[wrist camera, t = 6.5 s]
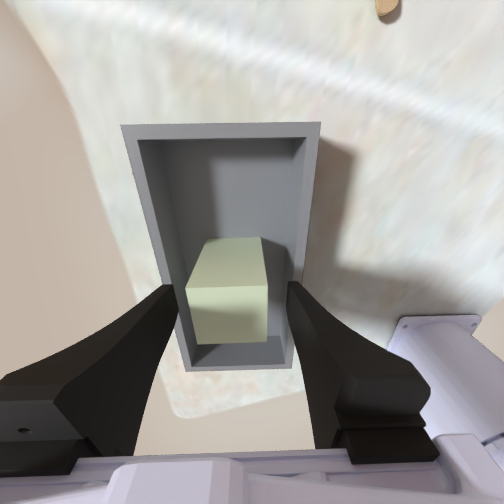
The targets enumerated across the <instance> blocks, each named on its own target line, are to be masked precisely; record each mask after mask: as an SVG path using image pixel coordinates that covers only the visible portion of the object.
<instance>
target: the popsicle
mask: <svg viewBox="0 0 504 504" xmlns="http://www.w3.org/2000/svg"><path fill="white" fill-rule="evenodd" d="M398 1H399V0H375V3H376V12H377V14H378V15H379V16H384V15H386V14H388V13H390V12H391V11H392V10H393V9H394V8H395V7H396V6H397V4H398Z"/></svg>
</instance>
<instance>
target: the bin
mask: <svg viewBox="0 0 504 504" xmlns="http://www.w3.org/2000/svg"><path fill="white" fill-rule="evenodd" d="M120 126H121V130H122V134H123V138H124V141H125V145H126V149H127V153H128V156H129V160H130V164H131V168H132V171H133V175H134V179H135V183H136V186H137V190H138V194H139V198H140V201H141V205H142V209H143V213H144V216H145V220H146V224H147V228H148V232H149V235H150V239H151V243H152V247H153V250H154V254H155V258H156V262H157V265H158V269H159V273H160V277H161V280H162V284H173V286H174V290H175V295H176V299H177V303H178V307H179V312H178V316H177V320H176V323H175V326H174V329H175V333H176V337H177V340H178V344H179V348H180V352H181V355H182V359H183V363H184V367H185V370H186V372H194V371H226V370H258V369H291V368H292V361H293V353H294V344H295V343H294V340H293V336H292V333H291V330H290V326H289V323H288V317H287V312H286V298H287V285H288V281H298V282H299V283H300V284H301V285H302V277H303V269H304V261H305V252H306V244H307V236H308V227H309V219H310V211H311V202H312V194H313V186H314V177H315V169H316V161H317V152H318V144H319V136H320V127H321V122H272V123H206V124H139V125H120ZM248 237H260V238H261V244H262V251H263V257H264V264H265V271H266V277H267V284H268V303H267V342H251V343H223V344H197V340H196V336H195V331H194V327H193V322H192V317H191V313H190V308H189V304H188V299H187V294H186V290H185V288H186V285H187V283H188V281H189V278H190V276H191V274H192V272H193V269H194V267H195V265H196V263H197V260H198V258H199V256H200V253H201V251H202V249H203V247H204V244H205V242H206V240H207V239H216V238H248Z"/></svg>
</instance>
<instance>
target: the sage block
mask: <svg viewBox="0 0 504 504" xmlns="http://www.w3.org/2000/svg"><path fill="white" fill-rule="evenodd" d="M185 290H186V294H187V299H188V304H189V308H190V313H191V317H192V322H193V327H194V331H195V336H196V340H197V344H223V343H251V342H267V303H268V284H267V277H266V271H265V264H264V257H263V251H262V244H261V238H260V237H248V238H216V239H207V240H206V242H205V244H204V247H203V249H202V251H201V253H200V256H199V258H198V260H197V263H196V265H195V267H194V269H193V272H192V274H191V276H190V278H189V281H188V283H187V285H186V288H185Z"/></svg>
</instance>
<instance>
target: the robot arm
mask: <svg viewBox="0 0 504 504" xmlns="http://www.w3.org/2000/svg"><path fill="white" fill-rule="evenodd" d="M178 312H179V307H178V303H177V299H176V295H175V290H174V286H173V284H163V285H161V286H160V287H159V288H157V289H156V290H155V291H154V292H152V293H151V294H150V295H149V296H147V297H146V298H145V299H144V300H142V301H141V302H140V303H138V304H137V305H136V306H135V307H133V308H132V309H130V310H129V311H128V312H126V313H125V314H124V315H122V316H121V317H119V318H118V319H116V320H115V321H114V322H112V323H110V324H109V325H107V326H106V327H104V328H102V329H101V330H99V331H97V332H96V333H94V334H92V335H90V336H89V337H87V338H85V339H83V340H81V341H80V342H78V343H76V344H74V345H72V346H70V347H68V348H66V349H64V350H62V351H60V352H58V353H55V354H53V355H52V356H49V357H47V358H45V359H43V360H40V361H38V362H35V363H33V364H31V365H28V366H26V367H24V368H21V369H19V370H16V371H14V372H11V373H9V374H7V375H6V376H4V377H3V379H1V380H0V504H504V362H503V361H502V360H500V359H499V358H498V357H497V356H496V355H494V354H493V353H492V352H491V351H490V350H488V349H487V348H486V347H485V346H484V345H482V344H481V343H480V342H479V341H478V340H476V339H475V338H474V337H473V336H472V333H473V332H474V331H475V329H476V328H477V326H478V325H479V323H480V322H481V320H482V318H481V317H479V316H478V315H449V316H413V317H403V318H401V319H400V320H399V323H398V325H397V327H396V329H395V332H394V334H393V336H392V339H391V341H390V343H389V346H388V348H387V350H386V349H384V348H382V347H380V346H378V345H376V344H375V343H373V342H371V341H369V340H368V339H366V338H364V337H363V336H361V335H359V334H358V333H356V332H355V331H353V330H352V329H350V328H349V327H347V326H346V325H345V324H343V323H342V322H341V321H339V320H338V319H337V318H335V317H334V316H333V315H332V314H330V313H329V312H328V311H327V310H326V309H325V308H324V307H322V306H321V305H320V304H319V303H318V302H317V301H316V300H315V299H314V298H313V297H312V296H311V295H310V294H309V293H308V291H307V290H306V289H305V288H304V287H303V286H302V285H301V284H300V283H299V282H298V281H288V285H287V298H286V312H287V317H288V323H289V326H290V330H291V333H292V336H293V340H294V343H295V346H296V350H297V353H298V356H299V360H300V364H301V369H302V374H303V379H304V384H305V390H306V395H307V400H308V406H309V412H310V417H311V423H312V430H313V436H314V443H315V450H288V451H262V452H261V451H259V452H235V453H234V452H233V453H205V454H177V455H150V456H149V455H148V456H133V454H134V450H135V446H136V442H137V437H138V433H139V429H140V425H141V421H142V417H143V414H144V410H145V406H146V403H147V399H148V396H149V393H150V389H151V386H152V383H153V379H154V376H155V373H156V370H157V367H158V365H159V362H160V359H161V357H162V355H163V352H164V350H165V348H166V345H167V343H168V341H169V338H170V336H171V334H172V331H173V329H174V326H175V323H176V320H177V316H178Z"/></svg>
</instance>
